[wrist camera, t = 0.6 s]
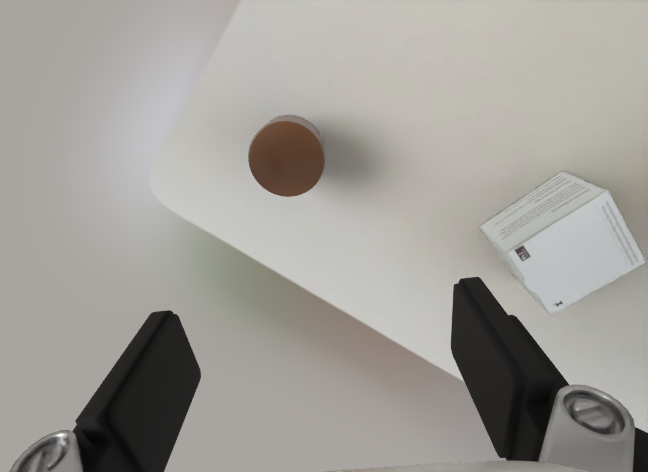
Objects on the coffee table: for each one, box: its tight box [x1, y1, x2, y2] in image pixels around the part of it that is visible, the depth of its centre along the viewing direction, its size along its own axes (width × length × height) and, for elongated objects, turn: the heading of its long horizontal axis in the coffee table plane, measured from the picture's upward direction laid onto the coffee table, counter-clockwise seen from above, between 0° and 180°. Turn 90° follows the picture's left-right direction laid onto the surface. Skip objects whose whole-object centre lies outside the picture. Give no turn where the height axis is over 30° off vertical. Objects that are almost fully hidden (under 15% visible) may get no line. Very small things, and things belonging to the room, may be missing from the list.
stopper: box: [248, 115, 325, 197], centre depth 24 cm, size 5×5×6 cm
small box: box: [480, 171, 645, 315], centre depth 27 cm, size 8×8×5 cm
